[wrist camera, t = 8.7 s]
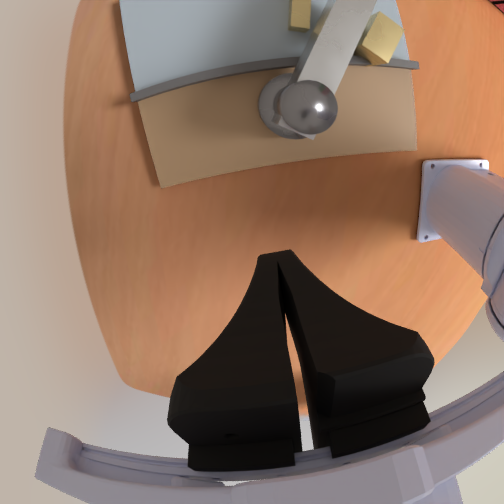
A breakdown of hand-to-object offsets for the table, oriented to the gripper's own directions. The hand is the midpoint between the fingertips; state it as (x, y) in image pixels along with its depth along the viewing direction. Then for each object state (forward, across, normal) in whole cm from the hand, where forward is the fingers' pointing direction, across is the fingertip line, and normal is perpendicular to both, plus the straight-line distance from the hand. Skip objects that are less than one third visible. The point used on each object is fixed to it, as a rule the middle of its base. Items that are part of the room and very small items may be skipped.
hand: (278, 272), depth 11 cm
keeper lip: (+10, -5, -13) cm, 17 cm away
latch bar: (+8, -5, -9) cm, 13 cm away
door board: (+10, -3, -10) cm, 15 cm away
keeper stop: (+10, -9, -10) cm, 17 cm away
